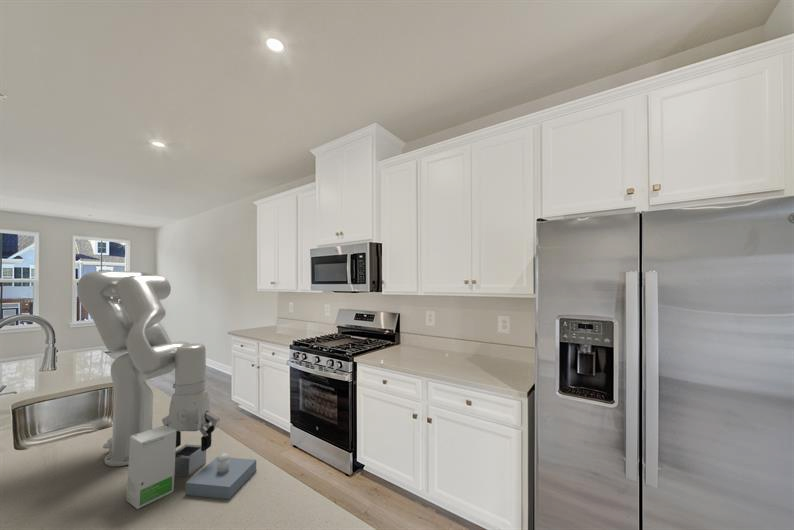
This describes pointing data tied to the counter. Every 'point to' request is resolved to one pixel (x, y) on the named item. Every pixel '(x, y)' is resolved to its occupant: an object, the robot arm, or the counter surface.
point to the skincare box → (151, 465)
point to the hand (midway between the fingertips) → (190, 448)
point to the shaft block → (221, 477)
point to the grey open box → (189, 460)
